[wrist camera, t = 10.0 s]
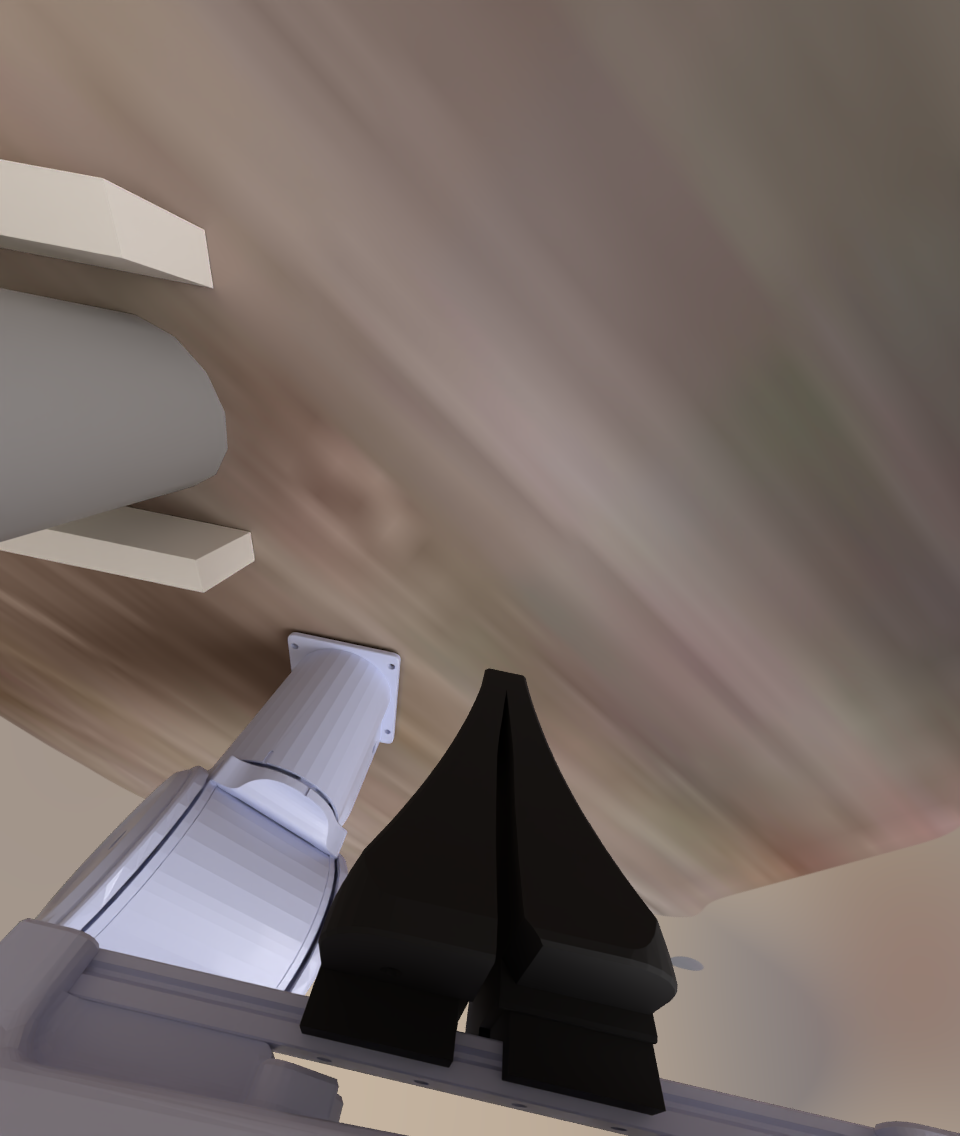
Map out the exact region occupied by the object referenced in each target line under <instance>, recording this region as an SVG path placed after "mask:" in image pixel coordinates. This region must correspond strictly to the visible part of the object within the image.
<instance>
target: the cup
mask: <svg viewBox="0 0 960 1136" xmlns="http://www.w3.org/2000/svg"><path fill="white" fill-rule="evenodd" d="M227 449H228V446H227V433H226V419H225V412H224V409H223V407H222V405H221V403H220V401H219V399H218V396H217V394H216V392H215V390H214V388H213V385H212V383H211V381H210V379H209V377H208V375H207V372H206V371H205V370H204V369H203V368H202V367H201V366H200V365H199V363H198V362H197V361H196V360H195V359H194V358H193V357H192V356H191V355H190V353H189V352H188V351H187V350H186V349H185V348H184V347H183V346H182V345H181V343H180V342H179V341H178V340H177V339H176V338H175V337H174V336H172V335H171V334H169V333H167V332H165V331H163V330H162V329H160V328H158V327H156V326H155V325H153V324H151V323H149V322H147V321H146V320H144V319H142V318H140V317H138V316H137V315H134V314H129V313H124V312H119V311H114V310H109V309H104V308H99V307H94V306H89V305H84V304H79V303H74V302H69V301H64V300H59V299H53V298H48V297H43V296H38V295H33V294H28V293H23V292H18V291H13V290H8V289H3V288H0V542H3V541H6V540H10V539H13V538H17V537H20V536H23V535H27V534H30V533H34V532H37V531H41V530H44V529H48V528H51V527H55V526H58V525H62V524H65V523H68V522H72V521H75V520H79V519H82V518H86V517H89V516H93V515H96V514H100V513H103V512H106V511H110V510H113V509H117V508H120V507H124V506H127V505H131V504H134V503H138V502H141V501H145V500H148V499H151V498H155V497H158V496H162V495H165V494H169V493H172V492H176V491H179V490H183V489H186V488H189V487H193V486H195V485H197V484H199V483H201V482H202V481H204V480H206V479H208V478H210V477H212V476H214V475H216V473H217V471H218V469H219V467H220V464H221V462H222V460H223V458H224V456H225V454H226V451H227Z"/></svg>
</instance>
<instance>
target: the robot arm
mask: <svg viewBox="0 0 960 1136" xmlns="http://www.w3.org/2000/svg"><path fill="white" fill-rule="evenodd" d="M296 644H297V645H296ZM288 646H289V655H290V663H291V673H290V674H289V676H288V677H287V678H286V679H285V680H284V682H283V683H282V684H281V685H280V687H279V688H278V689H277V690H276V691H275V693H274V694H273V695H272V696H271V697H270V699H269V700H268V701H267V702H266V703H265V705H264V706H263V707H262V708H261V710H260V711H259V712H258V713H257V714H256V716H255V717H254V718H253V719H252V720H251V722H250V723H249V724H248V725H247V726H246V728H245V729H244V730H243V731H242V732H241V734H240V735H239V736H238V737H237V739H236V740H235V741H234V742H233V743H232V745H231V746H230V747H229V748H228V749H227V751H226V752H225V753H224V754H223V755H222V757H221V758H220V759H219V760H218V761H217V763H216V764H215V765H214V766H213V768H211V769H210V770H208V771H207V770H206V769H204V768H203V767H201V766H195V767H193V768H191V769H190V770H189V769H188V770H184V771H180V772H177V773H174V774H173V775H172V776H170V777H169V778H168V779H167V780H165V781H164V782H163V783H162V784H161V785H160V786H159V787H157V788H156V789H155V790H154V791H153V792H152V793H151V794H150V795H149V796H148V797H147V798H146V799H145V800H144V801H143V802H142V803H141V804H140V805H139V806H138V807H137V808H136V809H135V810H134V811H133V812H132V813H131V814H130V815H129V816H128V817H127V818H126V819H125V820H124V821H123V822H122V823H121V824H120V825H119V826H118V827H117V828H116V829H115V830H114V831H113V832H112V833H111V834H110V835H109V836H108V837H107V838H106V839H105V840H104V841H103V842H102V844H101V845H100V846H99V847H98V848H97V849H96V850H95V851H94V852H93V853H92V854H91V855H90V856H89V857H88V858H87V859H86V860H85V862H84V863H83V864H82V865H81V866H80V867H79V868H78V869H77V870H76V871H75V873H74V874H73V875H72V876H71V877H70V878H69V879H68V880H67V881H66V883H65V884H64V885H63V886H62V887H61V888H60V889H59V890H58V892H57V893H56V894H55V895H54V896H53V897H52V899H51V900H50V901H49V902H48V903H47V905H46V906H45V907H44V908H43V910H42V911H41V912H40V914H39V915H38V916H37V917H36V918H35V919H31V918H27V919H24V920H22V921H20V922H19V923H18V924H17V925H16V926H15V927H14V928H13V929H12V930H11V931H10V932H9V933H8V934H7V935H6V936H5V937H4V939H3V940H2V941H1V942H0V1136H407V1135H401V1134H396V1133H391V1132H386V1131H380V1130H375V1129H371V1128H365V1127H360V1126H355V1125H350V1124H344V1123H339V1119H340V1114H341V1111H342V1107H343V1101H342V1097H341V1096H339V1095H338V1094H337V1091H338V1082H337V1079H335V1078H332V1077H329V1076H327V1075H324V1074H321V1073H318V1072H316V1071H313V1070H310V1069H307V1068H304V1067H302V1066H299V1065H296V1064H294V1063H290V1062H287V1061H283V1060H279V1059H275V1057H274V1054H273V1052H276V1053H281V1054H285V1055H289V1056H293V1057H298V1058H302V1059H306V1060H311V1061H314V1062H319V1063H323V1064H327V1065H332V1066H336V1067H340V1068H344V1069H348V1070H353V1071H357V1072H361V1073H365V1074H370V1075H374V1076H379V1077H382V1078H387V1079H391V1080H395V1081H399V1082H403V1083H408V1084H412V1085H416V1086H421V1087H425V1088H429V1089H433V1090H437V1091H442V1092H446V1093H450V1094H454V1095H458V1096H463V1097H467V1098H471V1099H476V1100H480V1101H484V1102H488V1103H493V1104H497V1105H501V1106H506V1107H509V1108H514V1109H518V1110H523V1111H526V1112H530V1113H535V1114H539V1115H543V1116H548V1117H552V1118H556V1119H560V1120H564V1121H569V1122H573V1123H577V1124H581V1125H586V1126H590V1127H594V1128H599V1129H603V1130H607V1131H611V1132H615V1133H619V1134H624V1135H628V1136H960V1133H955V1132H951V1131H947V1130H942V1129H938V1128H934V1127H929V1126H925V1125H920V1124H916V1123H909V1122H897V1121H895V1122H884V1123H880V1124H876V1126H875V1128H872V1127H868V1126H864V1125H860V1124H855V1123H851V1122H847V1121H842V1120H838V1119H834V1118H829V1117H825V1116H821V1115H817V1114H812V1113H808V1112H804V1111H799V1110H795V1109H791V1108H787V1107H782V1106H778V1105H774V1104H769V1103H765V1102H760V1101H756V1100H752V1099H748V1098H743V1097H739V1096H735V1095H730V1094H726V1093H722V1092H717V1091H713V1090H709V1089H705V1088H700V1087H696V1086H692V1085H688V1084H683V1083H679V1082H675V1081H670V1080H666V1079H662V1078H659V1073H658V1068H657V1063H656V1058H655V1053H654V1048H653V1044H656V1043H657V1032H656V1027H655V1022H654V1017H653V1013H654V1012H655V1011H656V1010H658V1009H659V1008H660V1007H662V1006H664V1005H665V1004H666V1003H668V1002H670V1001H671V999H672V998H673V997H674V996H675V994H676V992H677V981H676V977H675V973H674V970H673V966H672V962H671V958H670V955H669V952H668V949H667V946H666V944H665V940H664V938H663V935H662V932H661V929H660V926H659V923H658V921H657V919H656V917H655V916H654V915H653V913H652V912H651V911H650V910H649V908H648V907H647V906H646V904H645V903H644V902H643V900H642V899H641V898H640V896H639V895H638V894H637V892H636V891H635V890H634V888H633V887H632V886H631V884H630V883H629V882H628V880H627V879H626V877H625V876H624V875H623V873H622V872H621V870H620V869H619V867H618V866H617V865H616V863H615V862H614V860H613V859H612V857H611V856H610V854H609V853H608V852H607V850H606V849H605V847H604V845H603V844H602V842H601V841H600V839H599V838H598V836H597V834H596V833H595V831H594V830H593V828H592V826H591V825H590V823H589V822H588V820H587V819H586V817H585V815H584V814H583V812H582V810H581V809H580V807H579V805H578V803H577V802H576V800H575V798H574V796H573V795H572V793H571V791H570V789H569V787H568V785H567V783H566V781H565V779H564V778H563V776H562V774H561V772H560V770H559V767H558V765H557V763H556V761H555V759H554V757H553V754H552V752H551V750H550V748H549V746H548V743H547V741H546V738H545V736H544V733H543V731H542V728H541V726H540V723H539V720H538V718H537V715H536V712H535V709H534V706H533V703H532V700H531V697H530V693H529V690H528V686H527V682H526V678H525V677H524V676H523V675H518V674H513V673H508V672H503V671H499V670H494V669H487V670H485V673H484V677H483V681H482V686H481V688H480V691H479V693H478V696H477V698H476V700H475V702H474V704H473V706H472V708H471V711H470V713H469V715H468V716H467V718H466V720H465V722H464V724H463V725H462V727H461V729H460V730H459V732H458V734H457V736H456V737H455V739H454V741H453V742H452V744H451V745H450V747H449V748H448V750H447V751H446V753H445V754H444V756H443V757H442V759H441V760H440V761H439V763H438V764H437V766H436V767H435V768H434V770H433V771H432V772H431V774H430V775H429V776H428V778H427V779H426V780H425V782H424V783H423V784H422V785H421V787H420V788H419V789H418V790H417V792H416V793H415V794H414V795H413V796H412V798H411V799H410V800H409V801H408V802H407V803H406V805H405V806H404V807H403V808H402V809H401V811H400V812H399V813H398V814H397V815H396V816H395V817H394V819H393V820H392V821H391V822H390V823H389V824H388V825H387V826H386V827H385V828H384V829H383V830H382V831H381V832H380V833H379V834H378V836H377V837H376V838H375V839H374V840H373V841H372V842H371V843H370V844H369V845H368V846H367V847H366V848H365V849H364V851H363V852H362V854H361V855H360V857H359V858H358V860H357V861H356V863H355V864H354V866H353V867H352V869H351V870H350V872H349V874H348V868H347V864H346V861H345V859H344V857H343V856H342V855H341V854H339V851H340V849H341V846H342V844H343V841H344V839H345V836H346V834H347V830H346V829H344V828H343V827H342V825H343V824H344V823H345V821H346V820H347V818H348V816H349V814H350V812H351V810H352V808H353V805H354V803H355V801H356V798H357V796H358V793H359V791H360V788H361V786H362V784H363V781H364V779H365V776H366V774H367V771H368V769H369V766H370V764H371V762H372V759H373V757H374V754H375V752H376V749H377V747H378V745H379V742H383V743H392V742H393V739H394V733H395V721H396V709H397V696H398V684H399V672H400V660H401V659H400V656H399V655H398V654H396V653H393V652H388V651H384V650H379V649H374V648H369V647H365V646H360V645H355V644H350V643H346V642H341V641H336V640H331V639H327V638H322V637H317V636H312V635H308V634H303V633H298V632H293V633H291V634H290V635H289V636H288ZM391 664H393V665H394V666H393V665H391ZM315 978H316V980H315ZM314 980H315V982H314V985H313V988H312V991H311V994H310V997H309V996H304V995H305V994H306V992H307V991H308V990H309V988H310V987H311V985H312V983H313V981H314ZM468 1002H469V1007H468V1014H467V1022H466V1032H465V1033H464V1032H459V1031H457V1025H458V1020H459V1019H460V1017H461V1015H462V1013H463V1011H464V1009H465V1007H466V1005H467V1004H468Z"/></svg>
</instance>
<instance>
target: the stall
mask: <svg viewBox="0 0 960 1136" xmlns="http://www.w3.org/2000/svg"><path fill="white" fill-rule="evenodd" d="M0 248H4V249H10V250H15V251H20V252H25V253H30V254H36V255H41V256H46V257H51V258H57V259H62V260H67V261H72V262H78V263H83V264H88V265H93V266H99V267H104V268H109V269H114V270H119V271H125V272H130V273H135V274H140V275H146V276H151V277H156V278H161V279H167V280H172V281H177V282H182V283H188V284H193V285H198V286H203V287H208V288H213V283H212V276H211V270H210V263H209V256H208V250H207V243H206V237H205V230H204V229H202V228H200V227H198V226H196V225H194V224H192V223H190V222H188V221H186V220H184V219H182V218H180V217H178V216H176V215H174V214H172V213H170V212H168V211H166V210H164V209H162V208H160V207H158V206H157V205H155V204H153V203H151V202H149V201H147V200H145V199H143V198H141V197H139V196H137V195H135V194H133V193H131V192H129V191H127V190H125V189H123V188H121V187H119V186H117V185H115V184H113V183H111V182H109V181H107V180H106V179H104V178H99V177H93V176H88V175H82V174H77V173H72V172H66V171H61V170H56V169H50V168H45V167H39V166H34V165H29V164H23V163H18V162H12V161H7V160H2V159H0ZM0 550H2V551H7V552H12V553H16V554H21V555H26V556H31V557H35V558H40V559H45V560H50V561H54V562H59V563H64V564H69V565H74V566H78V567H83V568H88V569H93V570H97V571H102V572H107V573H112V574H117V575H121V576H126V577H131V578H136V579H140V580H145V581H150V582H155V583H160V584H164V585H169V586H174V587H179V588H183V589H188V590H193V591H198V592H203V593H204V592H206V591H207V590H209V589H210V588H212V587H214V586H215V585H217V584H218V583H220V582H222V581H223V580H225V579H226V578H228V577H230V576H231V575H233V574H234V573H236V572H238V571H239V570H241V569H242V568H244V567H246V566H247V565H249V564H250V563H252V562H253V561H255V558H254V552H253V545H252V538H251V532H248V531H243V530H239V529H234V528H229V527H224V526H219V525H214V524H209V523H204V522H200V521H195V520H190V519H185V518H180V517H175V516H170V515H165V514H161V513H156V512H151V511H146V510H141V509H136V508H131V507H126V506H124V507H120V508H117V509H113V510H110V511H106V512H103V513H100V514H96V515H93V516H89V517H86V518H82V519H79V520H75V521H72V522H68V523H65V524H62V525H58V526H55V527H51V528H48V529H44V530H41V531H37V532H34V533H30V534H27V535H23V536H20V537H17V538H13V539H10V540H6V541H3V542H0Z"/></svg>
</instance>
